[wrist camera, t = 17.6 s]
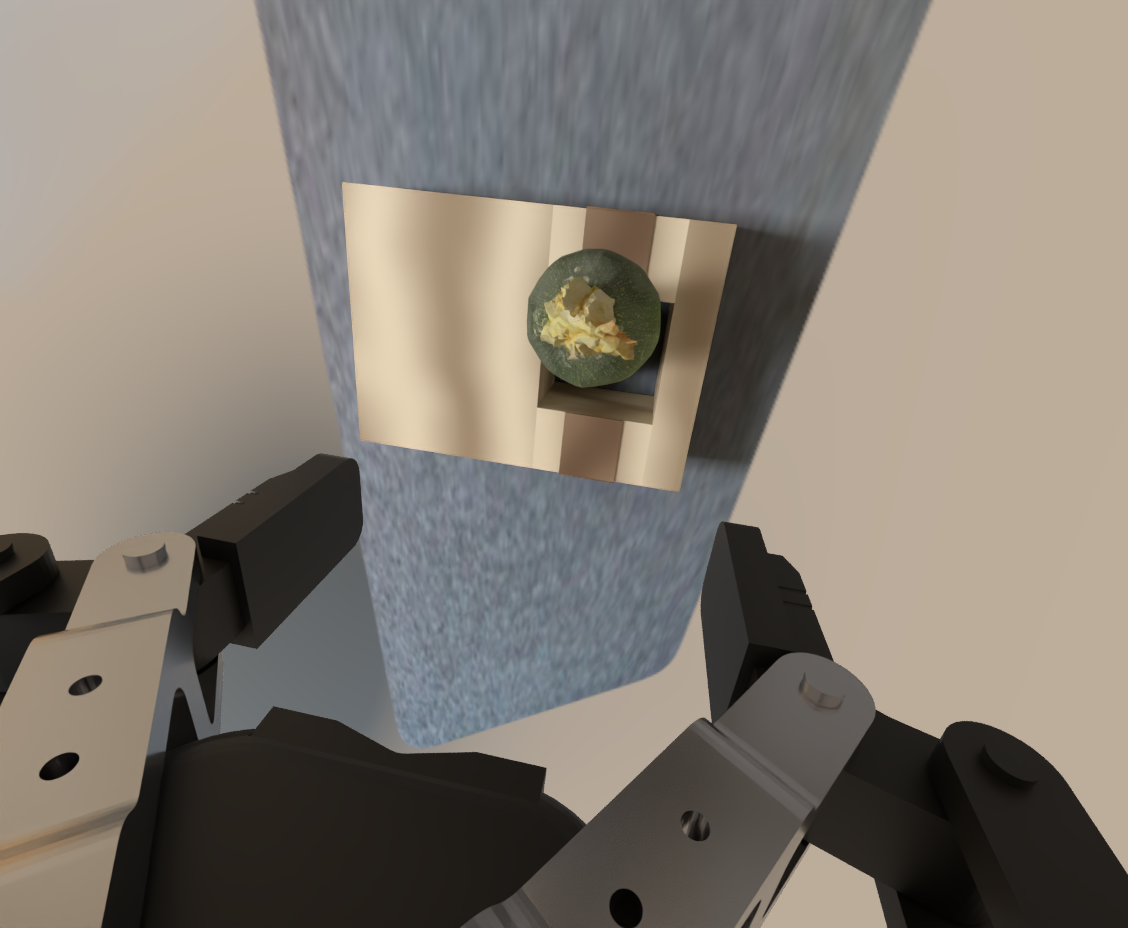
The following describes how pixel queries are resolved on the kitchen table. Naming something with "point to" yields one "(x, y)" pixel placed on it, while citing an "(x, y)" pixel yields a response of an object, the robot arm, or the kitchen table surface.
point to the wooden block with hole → (518, 331)
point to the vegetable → (593, 317)
